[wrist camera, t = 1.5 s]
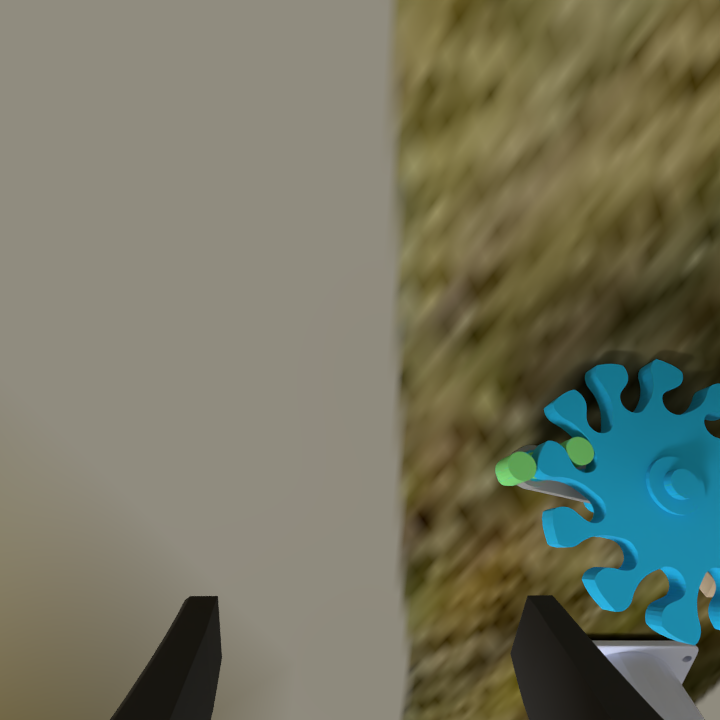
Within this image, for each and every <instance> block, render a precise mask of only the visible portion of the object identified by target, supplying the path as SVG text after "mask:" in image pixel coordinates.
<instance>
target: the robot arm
mask: <svg viewBox="0 0 720 720" xmlns="http://www.w3.org/2000/svg"><path fill="white" fill-rule="evenodd" d="M510 654H511V658H512V661H513V665H514V669H515V673H516V677H517V681H518V685H519V689H520V692H521V696H522V700H523V703H524V706H525V709H526V712H527V714H528V717H529V720H705V719H704V718H703V716H702V715H701V713H700V712H699V710H698V709H697V707H696V706H695V704H694V703H693V701H692V700H691V698H690V696H689V695H688V693H687V692H686V690H685V689H684V687H683V686H682V683H683V681H684V679H685V677H686V675H687V673H688V671H689V669H690V667H691V666H692V664H693V662H694V660H695V658H696V656H697V654H698V647H697V646H696V645H695V646H694V645H690V644H686V643H682V642H678V641H631V640H591V639H590V638H589V637H588V636H587V635H586V633H585V632H584V631H583V630H582V629H581V628H580V627H579V625H578V624H577V623H576V622H575V621H574V620H573V618H572V617H571V616H570V615H569V614H568V613H567V611H566V610H565V609H564V608H563V607H562V606H561V605H560V603H559V602H558V601H557V600H556V599H555V598H554V597H553V596H552V595H549V596H527V600H526V603H525V606H524V610H523V613H522V617H521V620H520V623H519V627H518V630H517V633H516V637H515V640H514V643H513V647H512V650H511V653H510ZM221 659H222V653H221V637H220V622H219V607H218V596H190V597H189V598H187V599H186V600H185V601H184V603H183V605H182V607H181V609H180V611H179V613H178V615H177V616H176V618H175V620H174V622H173V623H172V625H171V627H170V629H169V630H168V632H167V634H166V636H165V637H164V639H163V640H162V642H161V643H160V645H159V647H158V648H157V650H156V652H155V653H154V655H153V656H152V658H151V660H150V661H149V663H148V664H147V666H146V667H145V669H144V670H143V672H142V674H141V675H140V676H139V678H138V680H137V681H136V682H135V684H134V685H133V687H132V688H131V690H130V691H129V693H128V695H127V696H126V698H125V699H124V701H123V702H122V703H121V705H120V706H119V708H118V709H117V711H116V712H115V713H114V715H113V716H112V717H111V719H110V720H211V715H212V712H213V707H214V701H215V696H216V690H217V684H218V678H219V671H220V665H221Z"/></svg>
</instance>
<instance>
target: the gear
mask: <svg viewBox="0 0 720 720" xmlns="http://www.w3.org/2000/svg"><path fill="white" fill-rule="evenodd" d="M638 379H639V383H640V390H641V392H640V399H639V403H638V405H637V407H636V409H635V410H634V412H630V411H628V410H627V409H626V408H625V407H624V406H623V405H622V403H621V400H620V394H621V392H622V390H623V389H624V387H625V386H626V384H627V382H628V374H627V371H626V369H625V368H624V366H622V365H618V364H602V365H597V366H595V367H594V368H592V369H591V370H589V371H588V372H586V374H585V382H586V385H587V387H588V388H589V389H590V391H591V392H592V393H593V395H594V396H595V398H596V400H597V402H598V405H599V408H600V412H601V432H600V433H598V432H596V431H594V430H593V429H592V428H591V427H590V426H589V424H588V422H587V406H586V402H585V399H584V398H583V396H582V395H581V394H580V393H579V392H578V391H576V390H571V391H568V392H566V393H564V394H562V395H561V396H559V397H558V398H556V399H555V400H553V401H552V402H551V403H549V404H548V405H547V406H546V407H545V408H544V413H545V415H546V417H547V418H548V419H549V421H551V422H552V423H553V424H555V425H557V426H559V427H561V428H562V429H563V430H565V431H566V432H567V433H568V434H569V435H570V436H571V437H572V438H571V439H569V440H567V441H565V442H563V443H561V444H558V443H556V442H554V441H546V442H544V443H542V444H540V445H538V446H536V445H526V446H523V447H521V448H519V449H518V450H516V451H514V452H513V453H512V454H511V455H510V456H508V457H506V458H504V459H502V460H500V461H499V462H498V463H497V465H496V469H495V472H496V476H497V478H498V481H499V482H500V483H501V484H502V485H505V486H513V485H518V486H520V487H522V488H524V489H528V490H533V491H537V492H542V493H546V494H550V495H555V496H559V497H564V498H568V499H572V500H577V501H581V502H584V505H585V506H586V508H587V509H588V510H590V511H591V512H594V515H593V519H592V520H591V521H590V522H588V521H586V520H585V519H584V518H582V517H581V516H580V515H579V514H578V513H577V512H575V511H574V510H572V509H570V508H568V507H557V508H552V509H548V510H545V511H544V512H543V516H542V522H543V529H544V534H545V537H546V540H547V544H548V545H550V546H552V547H574V546H576V545H578V544H579V543H580V542H582V541H583V540H585V539H587V538H589V537H593V536H596V537H602V538H607V539H611V540H613V541H615V542H616V543H618V544H619V546H620V547H621V548H622V551H623V554H624V561H623V564H622V566H621V567H620V568H619V569H615V568H603V567H593V568H590V569H588V570H587V571H586V572H585V573H584V575H583V577H582V581H583V583H584V586H585V587H586V589H587V591H588V592H589V594H590V595H591V597H592V598H593V599H594V600H595V602H596V603H597V604H598V605H599V606H600V607H601V608H602V609H604V610H609V611H615V612H620V611H623V610H625V609H627V608H628V607H629V605H630V603H631V601H632V598H633V594H634V592H635V589H636V587H637V586H638V584H639V583H640V581H641V580H642V579H643V578H644V577H645V576H647V575H648V574H650V573H651V572H653V571H655V570H658V569H661V570H662V571H663V572H664V573H665V574H666V576H667V578H668V581H669V591H668V593H667V595H666V596H664V597H663V598H660V599H658V600H656V601H654V602H652V603H651V604H650V605H649V606H648V608H647V610H646V614H645V619H646V624H647V625H648V626H649V627H651V628H652V629H653V630H654V631H656V632H657V633H659V634H661V635H663V636H665V637H667V638H670V639H672V640H675V641H678V642H682V643H686V644H690V645H694V646H695V645H696V644H697V643H698V641H699V639H700V635H701V626H700V622H699V619H698V612H697V596H698V590H699V587H700V585H701V582H702V580H703V578H704V576H705V574H706V573H707V571H708V572H709V573H710V574H711V575H712V577H713V579H714V581H715V585H716V590H715V594H714V596H713V598H712V600H711V602H710V604H709V610H708V612H709V618H710V621H711V623H712V625H713V626H714V628H715V629H718V630H720V438H716V437H714V436H712V435H711V434H710V433H709V432H708V431H707V429H706V427H705V424H704V419H705V420H710V421H715V420H718V419H720V383H719V384H713V385H711V386H709V387H706V388H704V389H702V390H699V391H697V392H696V393H695V394H694V395H693V398H692V402H691V404H690V406H689V408H688V409H687V410H686V411H685V412H684V413H683V414H681V415H676V414H673V413H671V412H670V411H668V410H667V409H666V408H665V406H664V404H663V400H662V397H663V394H664V393H665V392H667V391H670V390H672V389H674V388H676V387H678V386H679V385H680V384H681V383H682V381H683V374H682V372H681V371H680V370H679V369H678V368H676V367H674V366H673V365H671V364H668V363H666V362H664V361H661V360H658V359H655V360H654V361H652V362H650V363H649V364H647V365H645V366H644V367H642V368H641V369H640V370H639V373H638Z"/></svg>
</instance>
